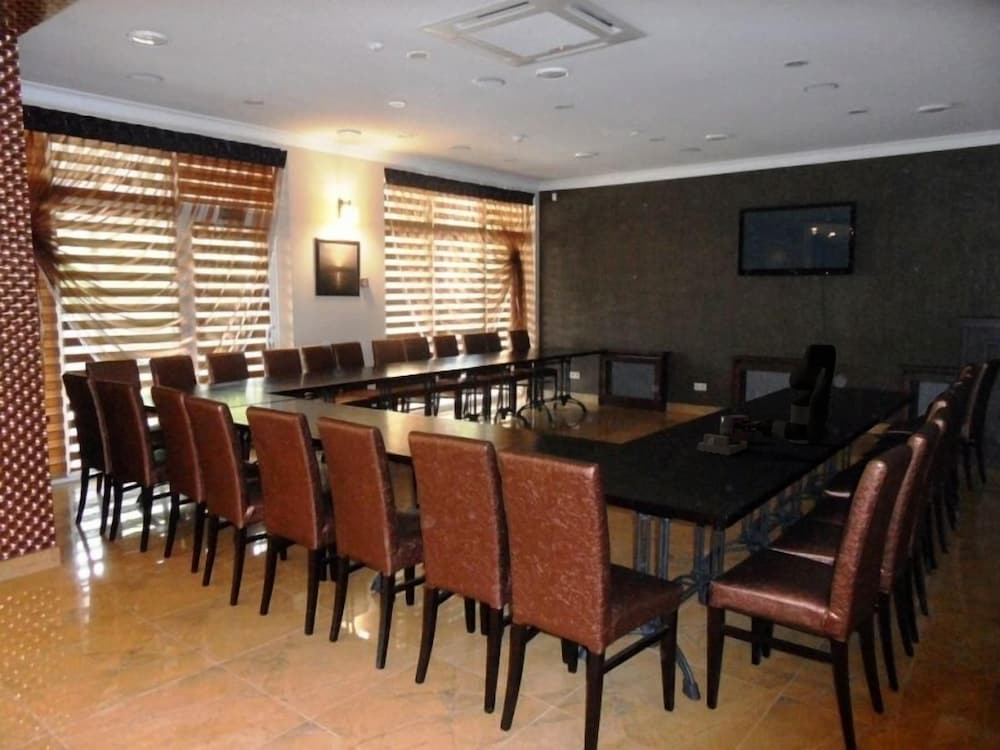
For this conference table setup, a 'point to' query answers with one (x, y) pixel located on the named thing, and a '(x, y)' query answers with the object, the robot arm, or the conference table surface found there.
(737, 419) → the box
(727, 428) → the spacer
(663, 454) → the conference table surface
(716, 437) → the scale
